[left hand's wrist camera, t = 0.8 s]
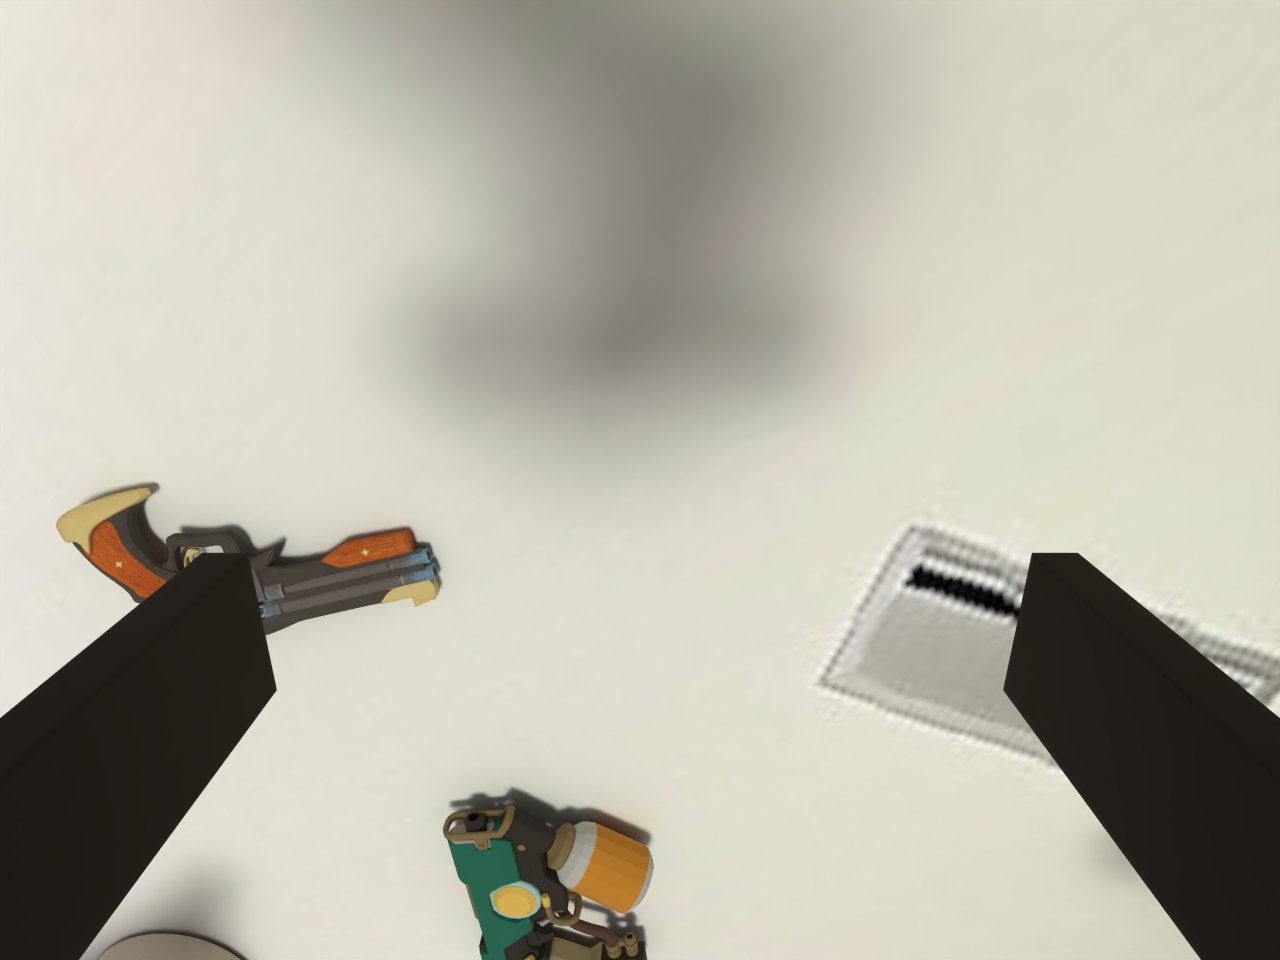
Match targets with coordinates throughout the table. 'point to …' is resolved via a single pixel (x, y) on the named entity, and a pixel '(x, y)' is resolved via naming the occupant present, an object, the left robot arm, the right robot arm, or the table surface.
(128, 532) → the toy gun
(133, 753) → the left robot arm
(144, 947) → the bust sculpture
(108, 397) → the table surface
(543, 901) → the spray gun
